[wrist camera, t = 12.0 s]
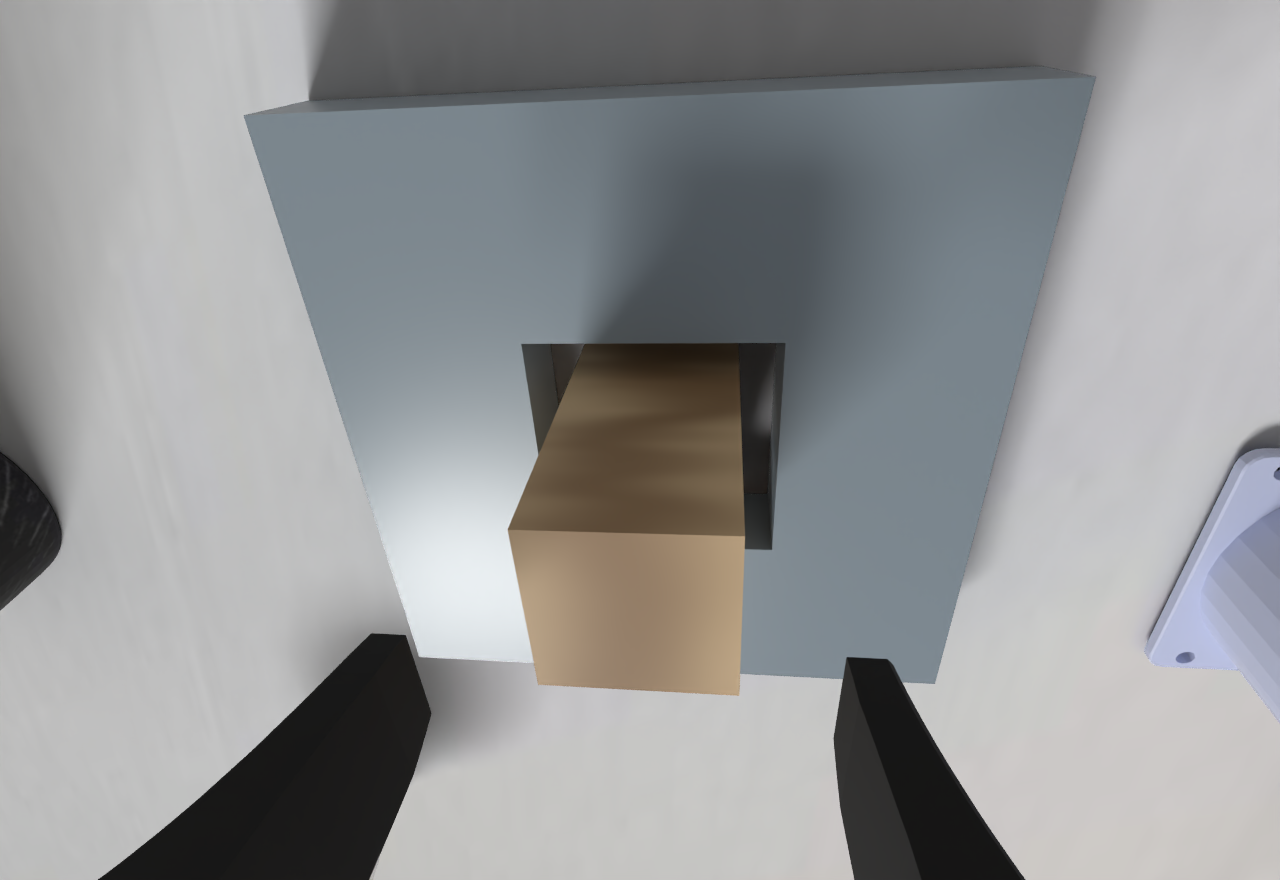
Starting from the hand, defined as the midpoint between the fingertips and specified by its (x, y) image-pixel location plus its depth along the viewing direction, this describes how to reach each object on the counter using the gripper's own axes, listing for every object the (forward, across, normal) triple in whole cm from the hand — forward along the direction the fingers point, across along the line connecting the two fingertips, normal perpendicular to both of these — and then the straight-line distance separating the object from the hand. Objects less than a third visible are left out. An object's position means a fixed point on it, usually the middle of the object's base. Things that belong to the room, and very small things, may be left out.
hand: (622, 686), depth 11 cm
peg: (+9, 0, 0) cm, 9 cm away
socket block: (+9, 0, 0) cm, 9 cm away
